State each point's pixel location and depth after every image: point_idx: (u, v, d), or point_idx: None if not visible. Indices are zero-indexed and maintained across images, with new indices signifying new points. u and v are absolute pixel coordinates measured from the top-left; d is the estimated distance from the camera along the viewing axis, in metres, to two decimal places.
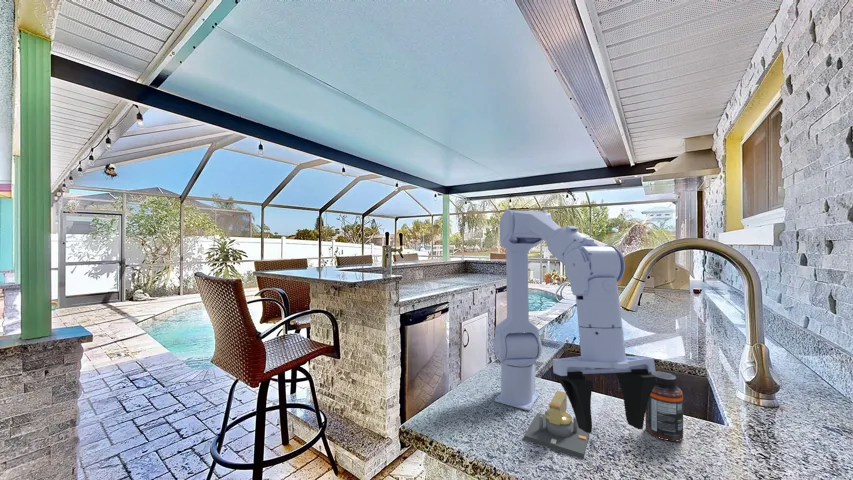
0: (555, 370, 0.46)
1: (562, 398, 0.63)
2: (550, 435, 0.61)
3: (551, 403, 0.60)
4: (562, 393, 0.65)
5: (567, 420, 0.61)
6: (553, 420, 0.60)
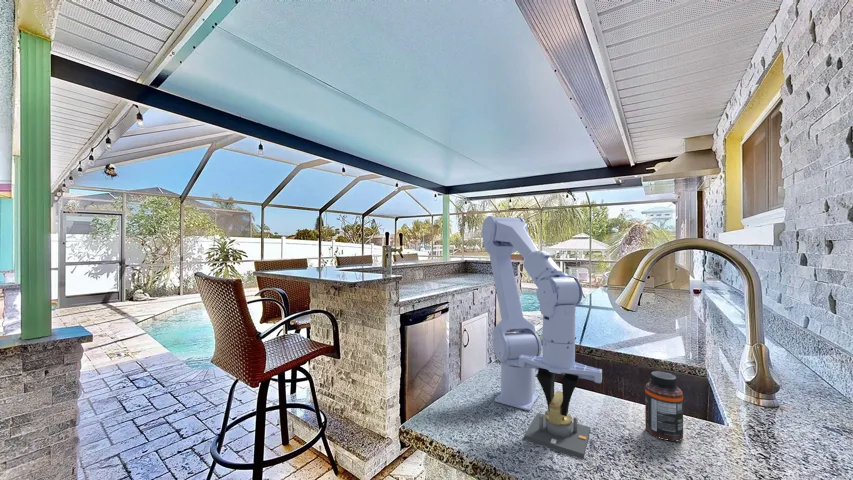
0: None
1: (562, 398, 0.63)
2: (550, 435, 0.61)
3: (551, 403, 0.60)
4: (562, 393, 0.65)
5: (567, 420, 0.61)
6: (553, 420, 0.60)
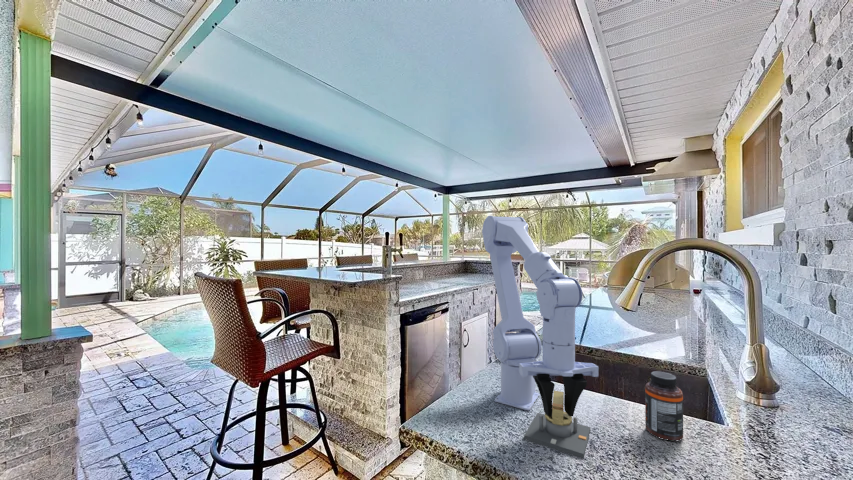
0: (520, 371, 0.63)
1: (562, 398, 0.63)
2: (550, 435, 0.61)
3: (554, 404, 0.60)
4: (560, 393, 0.65)
5: (568, 420, 0.61)
6: (556, 421, 0.59)
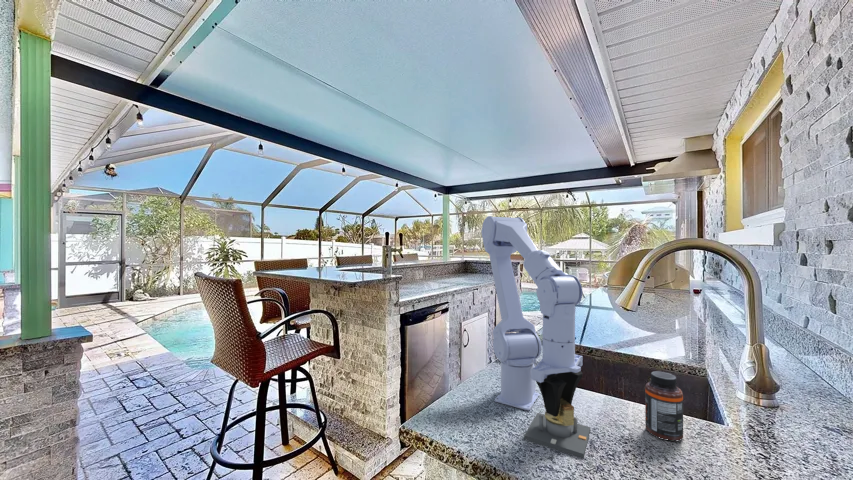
0: (534, 377, 0.59)
1: None
2: (550, 435, 0.61)
3: (564, 405, 0.60)
4: None
5: None
6: (568, 422, 0.59)
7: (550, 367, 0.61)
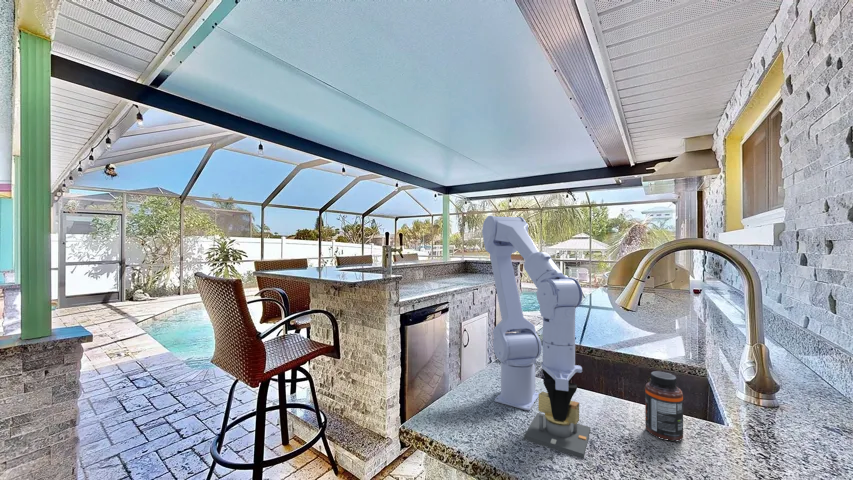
0: (559, 387, 0.56)
1: None
2: (550, 435, 0.61)
3: (573, 404, 0.60)
4: (544, 393, 0.65)
5: None
6: (577, 419, 0.60)
7: (562, 372, 0.60)
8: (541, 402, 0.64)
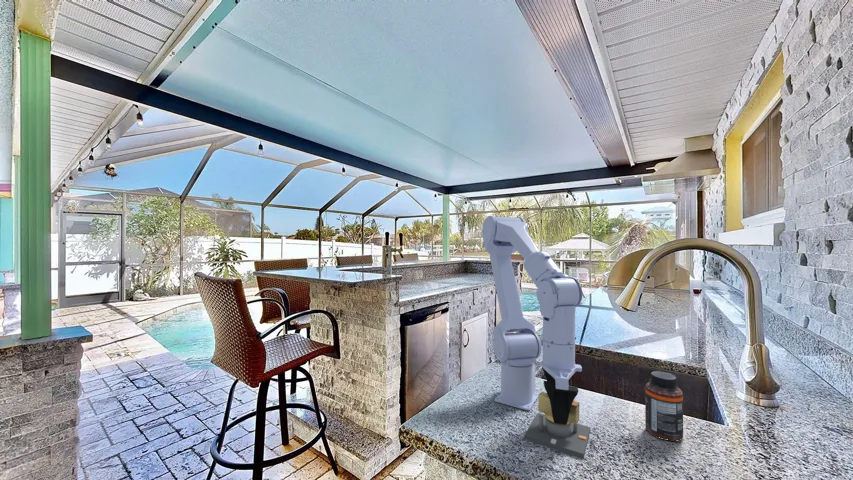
0: (559, 386, 0.56)
1: None
2: (550, 435, 0.61)
3: (573, 404, 0.60)
4: (544, 393, 0.65)
5: None
6: (577, 419, 0.60)
7: (561, 371, 0.60)
8: (541, 402, 0.64)
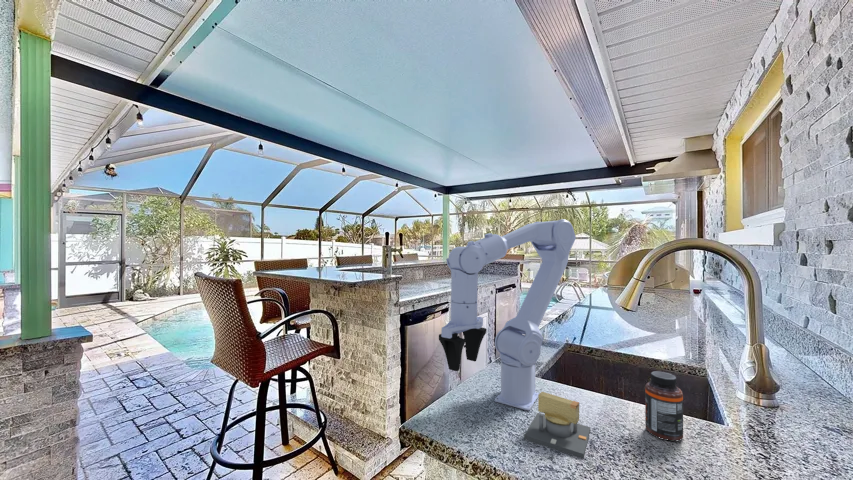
0: (443, 335, 0.66)
1: (557, 396, 0.63)
2: (550, 435, 0.61)
3: (573, 404, 0.60)
4: (544, 393, 0.65)
5: None
6: (577, 419, 0.60)
7: (457, 326, 0.69)
8: (541, 402, 0.64)
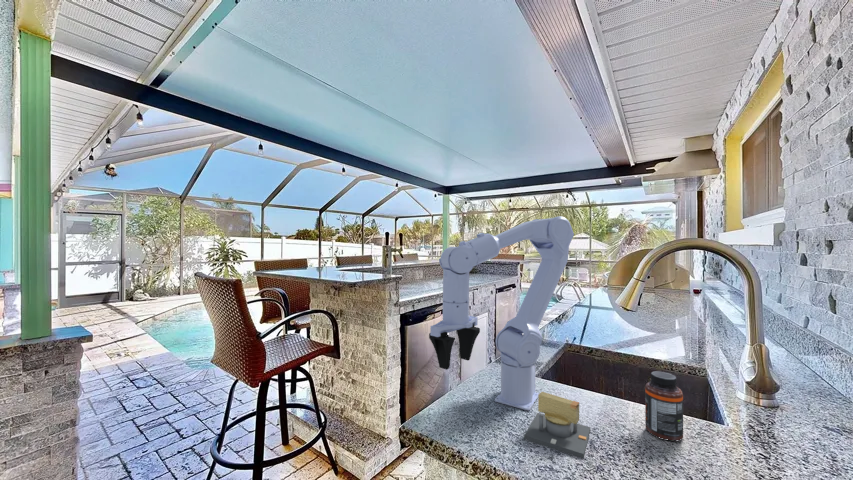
0: (432, 333, 0.67)
1: (557, 396, 0.63)
2: (550, 435, 0.61)
3: (573, 404, 0.60)
4: (544, 393, 0.65)
5: None
6: (577, 419, 0.60)
7: (447, 325, 0.70)
8: (541, 402, 0.64)
